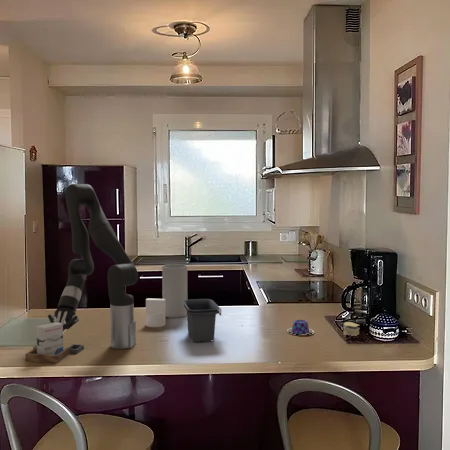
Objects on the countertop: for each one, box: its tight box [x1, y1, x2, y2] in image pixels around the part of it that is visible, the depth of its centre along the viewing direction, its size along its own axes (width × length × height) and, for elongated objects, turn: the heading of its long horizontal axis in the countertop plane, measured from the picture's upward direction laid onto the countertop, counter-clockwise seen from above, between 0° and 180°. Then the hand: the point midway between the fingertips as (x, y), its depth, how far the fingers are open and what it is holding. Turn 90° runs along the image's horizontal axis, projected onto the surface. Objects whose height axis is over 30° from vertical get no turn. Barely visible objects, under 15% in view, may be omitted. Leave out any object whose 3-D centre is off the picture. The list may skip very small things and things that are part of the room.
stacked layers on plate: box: [342, 321, 361, 336], centre depth 209 cm, size 10×9×6 cm
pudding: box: [286, 319, 315, 336], centre depth 215 cm, size 12×12×5 cm
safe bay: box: [24, 346, 71, 363], centre depth 181 cm, size 13×9×2 cm
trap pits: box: [32, 343, 85, 354], centre depth 189 cm, size 18×6×2 cm, turn 83°
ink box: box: [36, 321, 64, 355], centre depth 183 cm, size 8×5×12 cm, turn 140°
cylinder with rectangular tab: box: [145, 297, 166, 328], centre depth 225 cm, size 9×9×12 cm
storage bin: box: [183, 298, 222, 343], centre depth 207 cm, size 21×16×14 cm
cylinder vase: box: [161, 263, 188, 319], centre depth 242 cm, size 12×12×25 cm
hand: (56, 337), depth 187 cm, fingers closed
